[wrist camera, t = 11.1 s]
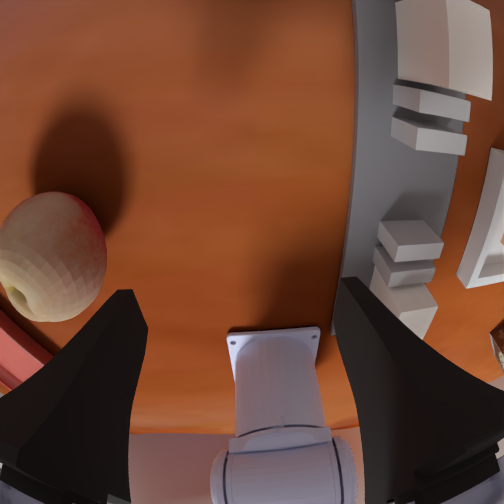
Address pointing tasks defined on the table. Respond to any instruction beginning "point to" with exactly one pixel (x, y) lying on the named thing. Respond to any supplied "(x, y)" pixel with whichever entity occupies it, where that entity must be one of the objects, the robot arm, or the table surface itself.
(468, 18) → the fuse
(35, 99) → the table surface
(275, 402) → the robot arm
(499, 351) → the food container
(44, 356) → the plant saucer
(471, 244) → the tray
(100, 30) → the table surface
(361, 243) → the rail
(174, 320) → the table surface
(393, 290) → the block
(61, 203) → the fruit
